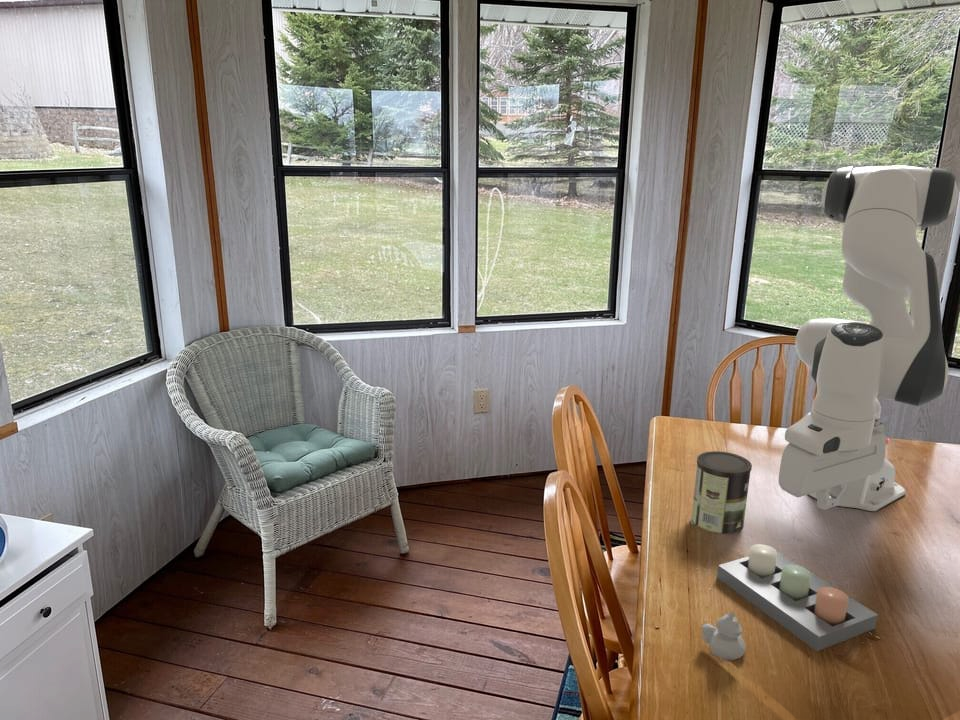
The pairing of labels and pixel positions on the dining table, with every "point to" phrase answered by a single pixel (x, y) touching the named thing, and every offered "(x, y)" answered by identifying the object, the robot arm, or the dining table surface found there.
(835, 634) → the grey rectangular tray
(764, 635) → the dining table surface
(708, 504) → the coffee can
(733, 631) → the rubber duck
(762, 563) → the ivory button
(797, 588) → the sage button
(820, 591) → the terracotta button
